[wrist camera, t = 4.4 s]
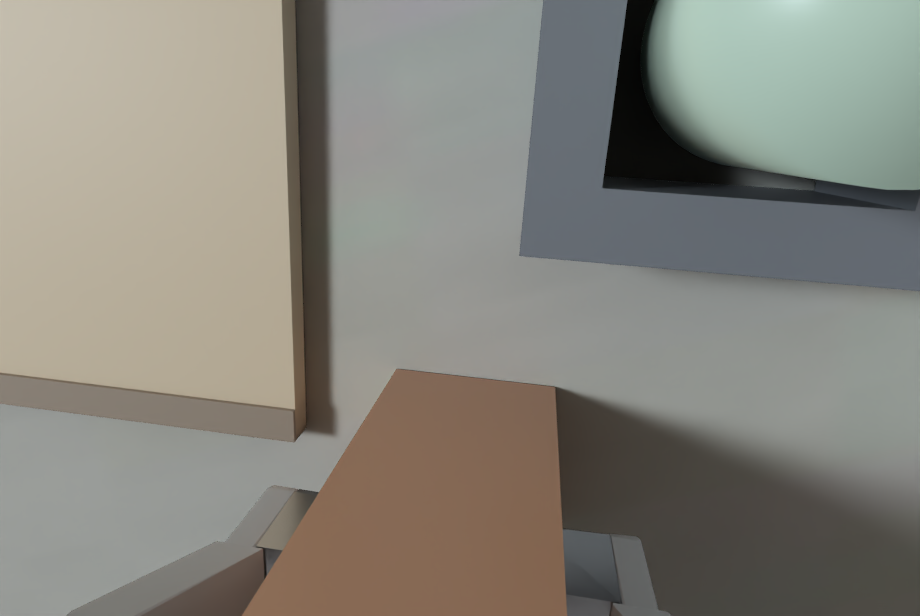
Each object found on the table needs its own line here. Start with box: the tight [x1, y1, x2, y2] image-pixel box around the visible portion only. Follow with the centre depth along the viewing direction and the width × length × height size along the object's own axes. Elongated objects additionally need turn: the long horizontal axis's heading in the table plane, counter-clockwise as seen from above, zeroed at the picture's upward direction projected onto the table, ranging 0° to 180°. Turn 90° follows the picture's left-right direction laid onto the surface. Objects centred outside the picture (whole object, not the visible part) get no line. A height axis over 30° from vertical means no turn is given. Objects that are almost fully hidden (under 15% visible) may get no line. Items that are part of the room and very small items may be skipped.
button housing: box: [519, 0, 920, 291], centre depth 9 cm, size 6×6×3 cm
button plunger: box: [640, 0, 920, 190], centre depth 6 cm, size 3×3×4 cm
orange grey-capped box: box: [242, 369, 567, 616], centre depth 9 cm, size 4×4×9 cm
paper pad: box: [0, 0, 306, 442], centre depth 12 cm, size 10×12×1 cm
